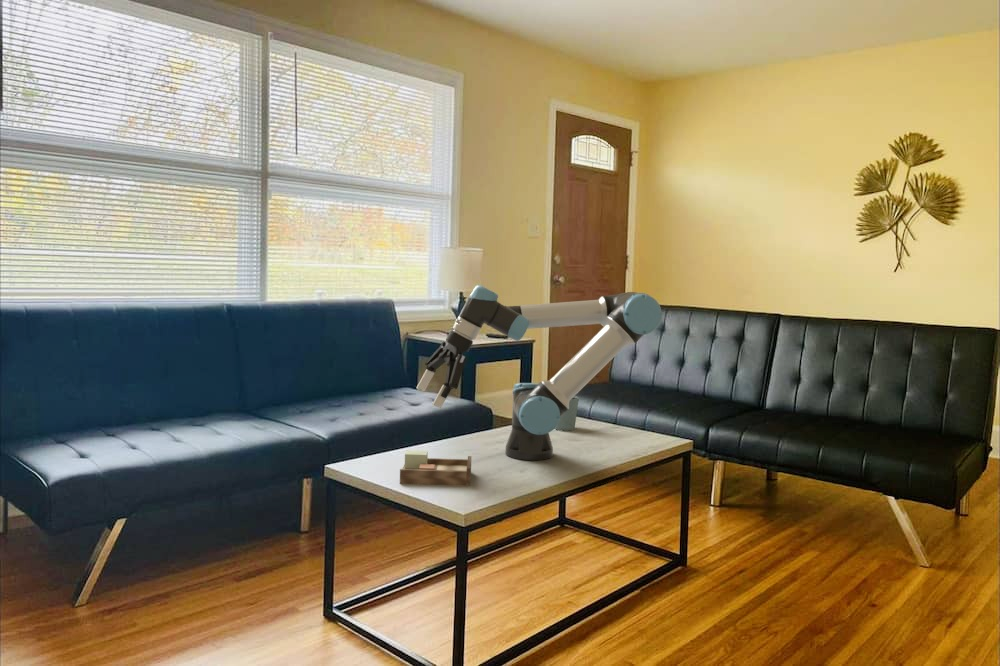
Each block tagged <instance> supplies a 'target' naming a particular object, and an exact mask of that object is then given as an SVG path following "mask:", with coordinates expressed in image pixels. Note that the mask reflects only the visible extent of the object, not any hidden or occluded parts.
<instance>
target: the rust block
mask: <svg viewBox="0 0 1000 666" xmlns="http://www.w3.org/2000/svg"><path fill="white" fill-rule="evenodd" d="M419 469H421V470H435V465H434V464H420V467H419Z"/></svg>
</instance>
